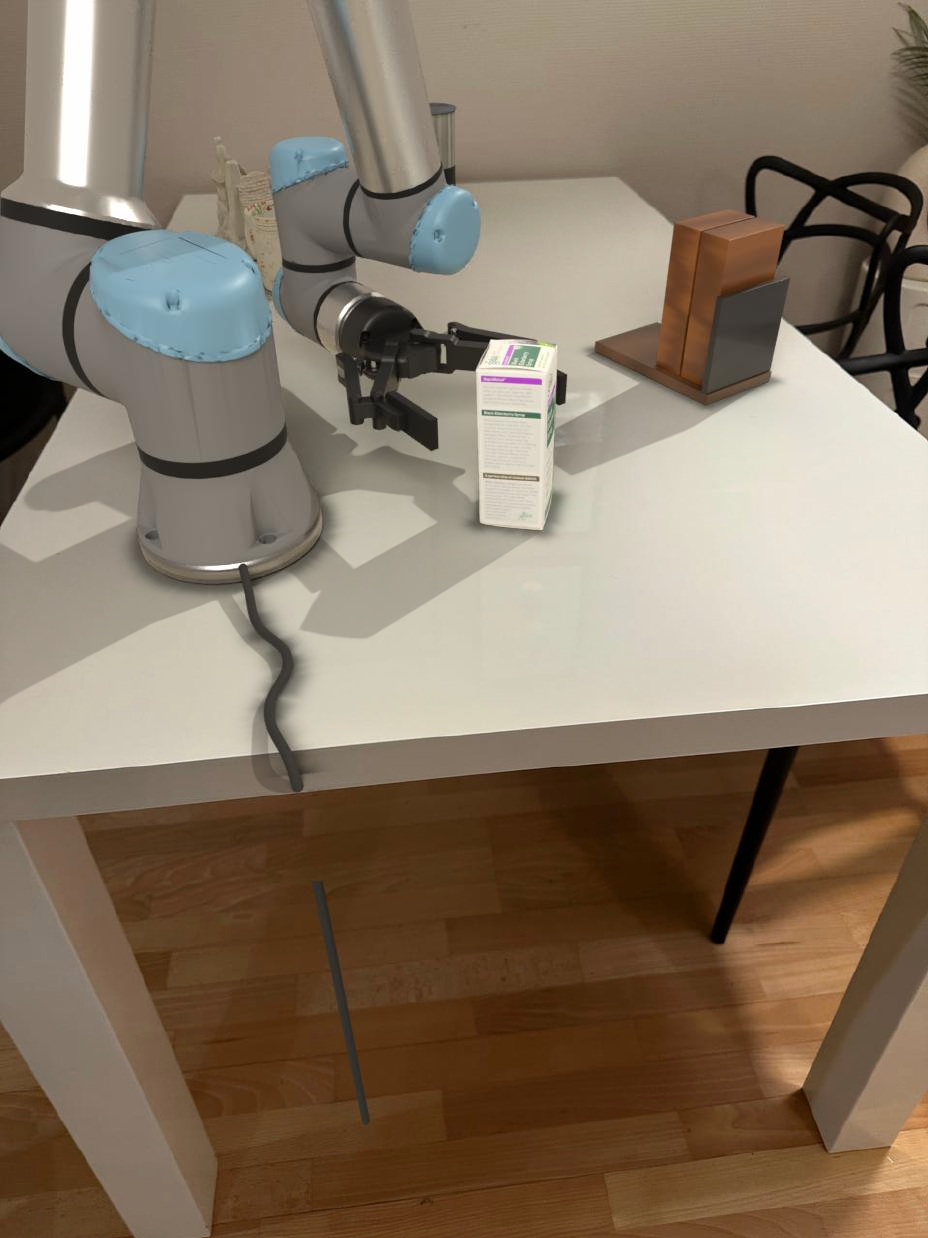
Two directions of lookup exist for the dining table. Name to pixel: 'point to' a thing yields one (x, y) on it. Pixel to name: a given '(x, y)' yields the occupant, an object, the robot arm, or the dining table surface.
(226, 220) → the ceramic cottage
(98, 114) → the robot arm
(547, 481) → the syrup box
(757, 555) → the dining table surface
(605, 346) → the wooden bookend
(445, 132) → the milk frother
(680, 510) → the dining table surface
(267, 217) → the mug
